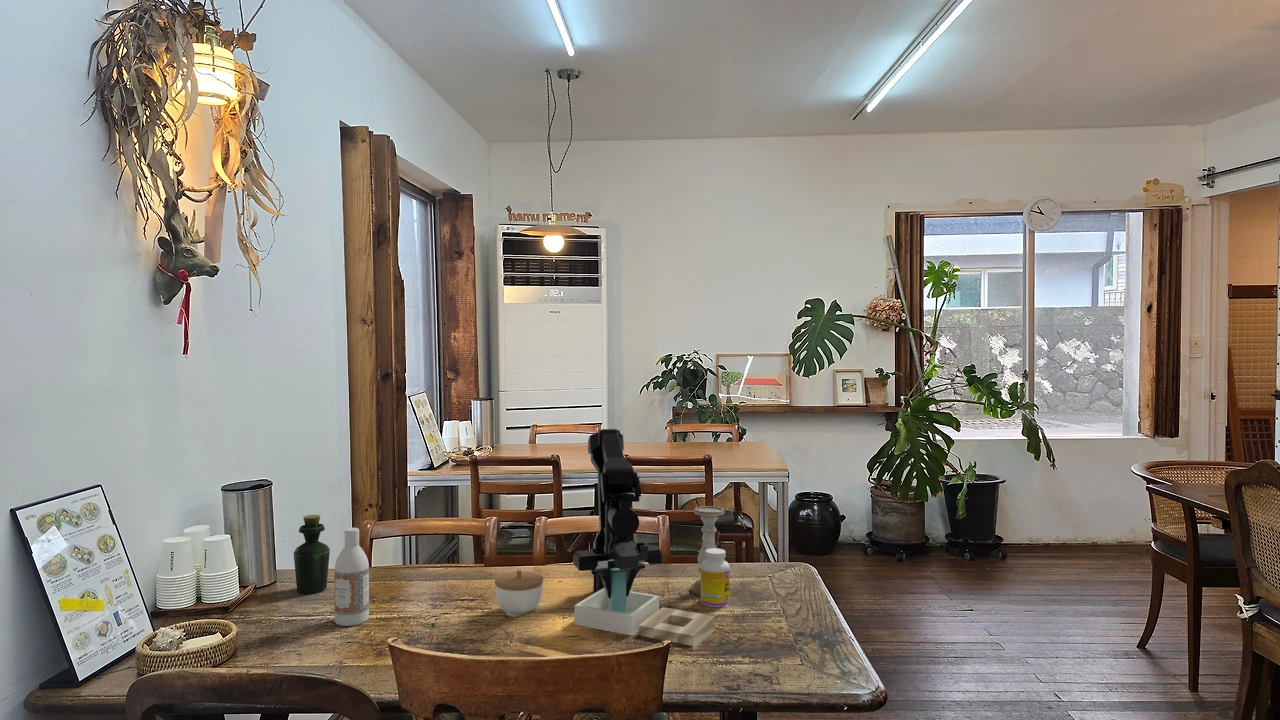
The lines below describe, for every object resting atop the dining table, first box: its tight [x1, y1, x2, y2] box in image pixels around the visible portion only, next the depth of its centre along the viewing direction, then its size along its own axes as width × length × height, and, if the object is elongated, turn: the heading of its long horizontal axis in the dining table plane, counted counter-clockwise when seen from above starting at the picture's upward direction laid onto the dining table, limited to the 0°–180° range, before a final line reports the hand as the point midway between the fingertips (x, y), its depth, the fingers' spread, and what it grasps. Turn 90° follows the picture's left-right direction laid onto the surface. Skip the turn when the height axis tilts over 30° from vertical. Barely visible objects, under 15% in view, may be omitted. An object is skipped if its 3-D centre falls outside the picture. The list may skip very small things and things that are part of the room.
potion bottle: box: [292, 514, 331, 595], centre depth 180 cm, size 8×8×18 cm
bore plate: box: [638, 607, 715, 652], centre depth 153 cm, size 12×12×3 cm
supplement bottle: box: [700, 547, 731, 608], centre depth 171 cm, size 7×7×13 cm
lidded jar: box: [494, 569, 544, 618], centre depth 166 cm, size 11×11×9 cm
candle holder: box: [690, 505, 726, 597], centre depth 181 cm, size 9×9×20 cm
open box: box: [573, 588, 660, 637], centre depth 160 cm, size 14×14×5 cm
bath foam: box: [333, 527, 370, 627], centre depth 160 cm, size 7×7×20 cm
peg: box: [610, 568, 626, 613], centre depth 159 cm, size 4×4×9 cm
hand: (617, 596), depth 159 cm, fingers closed on peg, 4 cm apart
